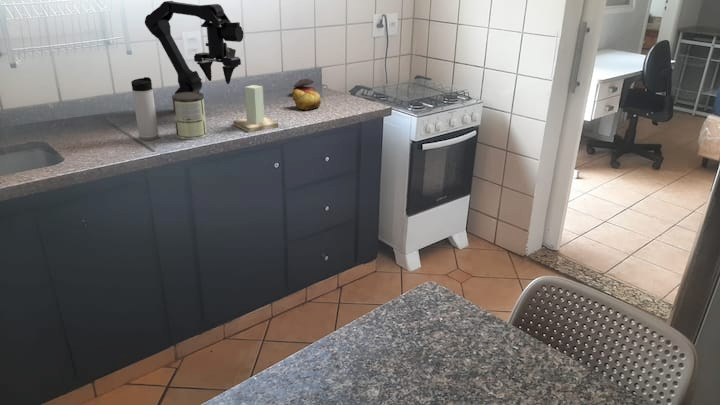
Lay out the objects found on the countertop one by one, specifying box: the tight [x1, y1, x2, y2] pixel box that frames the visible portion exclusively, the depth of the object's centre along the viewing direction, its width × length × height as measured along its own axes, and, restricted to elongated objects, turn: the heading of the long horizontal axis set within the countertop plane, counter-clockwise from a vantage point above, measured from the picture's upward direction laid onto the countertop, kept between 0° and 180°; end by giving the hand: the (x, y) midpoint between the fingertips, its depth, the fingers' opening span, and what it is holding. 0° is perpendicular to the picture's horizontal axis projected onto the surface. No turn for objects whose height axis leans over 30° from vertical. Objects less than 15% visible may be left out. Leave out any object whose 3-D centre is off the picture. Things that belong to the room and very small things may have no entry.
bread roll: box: [291, 89, 322, 111], centre depth 227 cm, size 13×10×8 cm
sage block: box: [244, 84, 265, 124], centre depth 199 cm, size 4×4×13 cm
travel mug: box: [131, 76, 160, 142], centre depth 181 cm, size 6×7×20 cm
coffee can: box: [171, 92, 208, 140], centre depth 186 cm, size 10×10×14 cm
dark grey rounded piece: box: [292, 78, 316, 92], centre depth 248 cm, size 11×10×10 cm
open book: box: [233, 116, 279, 133], centre depth 202 cm, size 12×12×2 cm
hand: (219, 82), depth 208 cm, fingers open, 9 cm apart
